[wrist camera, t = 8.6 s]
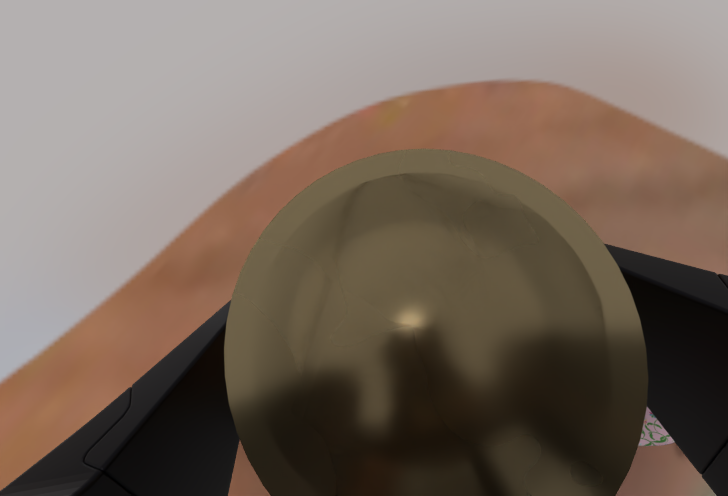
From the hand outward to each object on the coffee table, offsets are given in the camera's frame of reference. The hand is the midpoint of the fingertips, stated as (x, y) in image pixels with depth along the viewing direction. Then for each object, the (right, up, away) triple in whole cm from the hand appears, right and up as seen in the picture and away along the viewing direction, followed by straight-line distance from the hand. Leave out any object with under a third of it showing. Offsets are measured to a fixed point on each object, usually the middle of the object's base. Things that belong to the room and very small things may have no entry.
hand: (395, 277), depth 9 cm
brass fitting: (+1, -3, +7) cm, 8 cm away
